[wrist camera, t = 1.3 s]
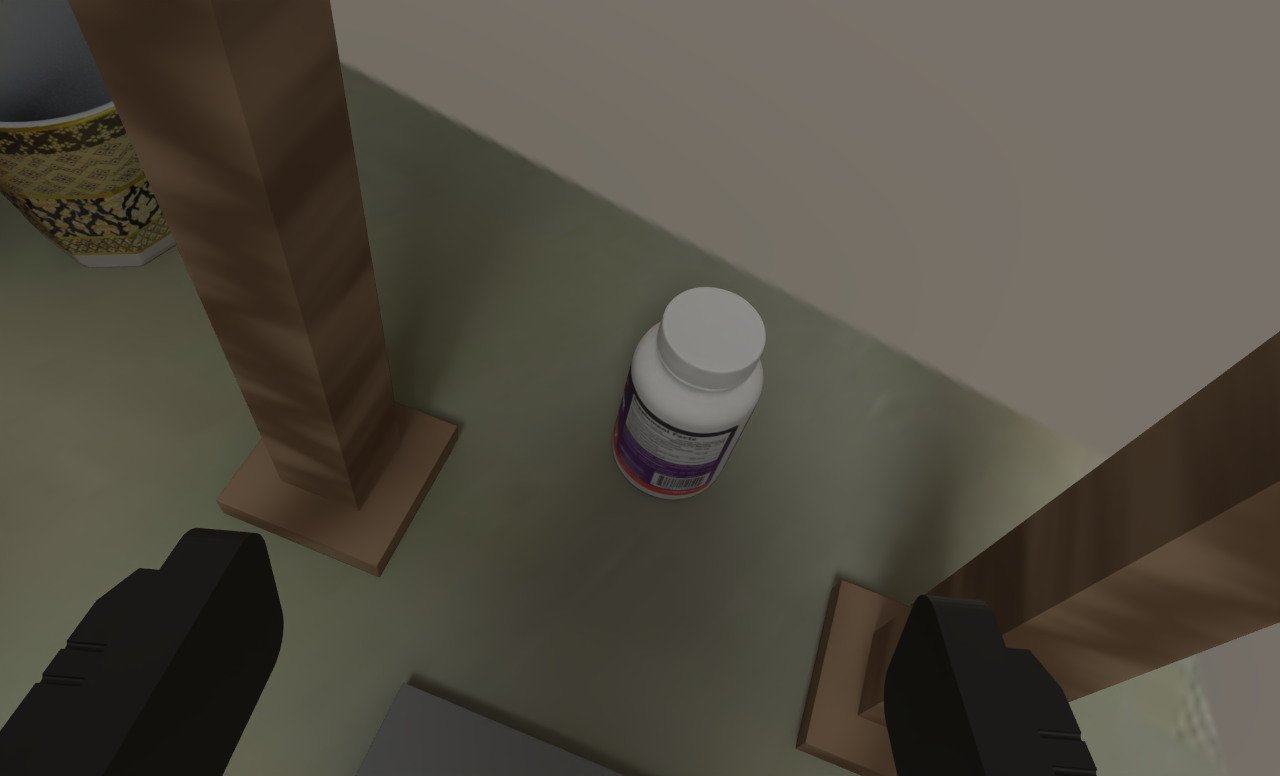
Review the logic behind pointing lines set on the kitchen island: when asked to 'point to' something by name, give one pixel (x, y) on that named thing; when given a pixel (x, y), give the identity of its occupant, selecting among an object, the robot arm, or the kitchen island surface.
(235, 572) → the robot arm
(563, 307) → the kitchen island surface
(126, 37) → the walnut post
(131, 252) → the ceramic cup
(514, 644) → the kitchen island surface
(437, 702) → the charcoal mat
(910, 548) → the kitchen island surface
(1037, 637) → the walnut post
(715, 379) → the pill bottle
